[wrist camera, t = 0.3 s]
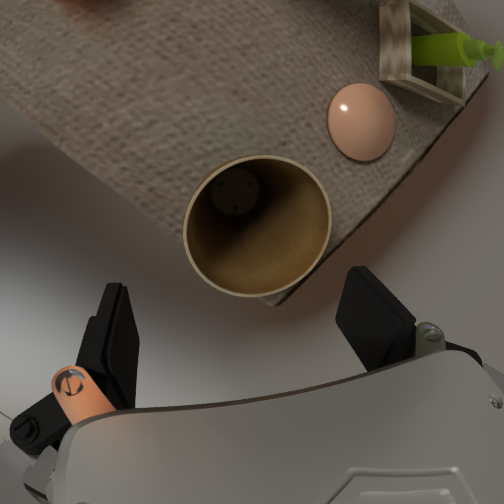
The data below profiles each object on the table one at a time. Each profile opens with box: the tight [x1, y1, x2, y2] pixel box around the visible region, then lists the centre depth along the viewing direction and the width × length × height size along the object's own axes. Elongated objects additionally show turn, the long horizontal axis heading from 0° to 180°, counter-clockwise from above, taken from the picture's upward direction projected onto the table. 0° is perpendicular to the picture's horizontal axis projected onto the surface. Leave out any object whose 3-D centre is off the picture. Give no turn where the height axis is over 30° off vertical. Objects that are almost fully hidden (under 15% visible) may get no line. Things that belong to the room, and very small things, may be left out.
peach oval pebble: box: [326, 83, 395, 161], centre depth 39 cm, size 13×13×1 cm
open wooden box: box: [379, 0, 466, 106], centre depth 31 cm, size 16×16×7 cm
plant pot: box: [183, 155, 332, 297], centre depth 34 cm, size 15×15×16 cm
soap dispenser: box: [411, 32, 504, 72], centre depth 26 cm, size 6×7×20 cm
